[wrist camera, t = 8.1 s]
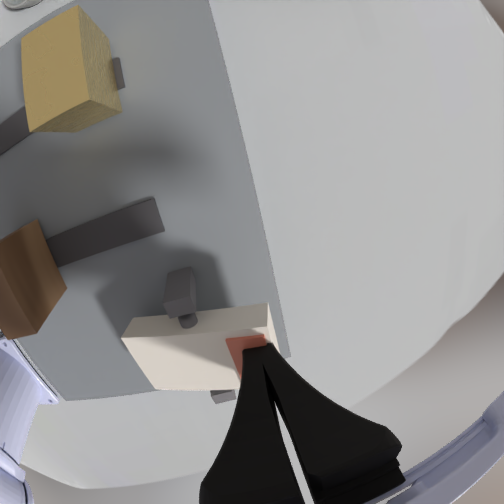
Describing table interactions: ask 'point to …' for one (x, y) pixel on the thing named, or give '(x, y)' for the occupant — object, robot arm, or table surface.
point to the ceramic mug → (20, 3)
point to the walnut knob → (27, 282)
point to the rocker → (198, 346)
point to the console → (137, 197)
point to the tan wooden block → (68, 74)
